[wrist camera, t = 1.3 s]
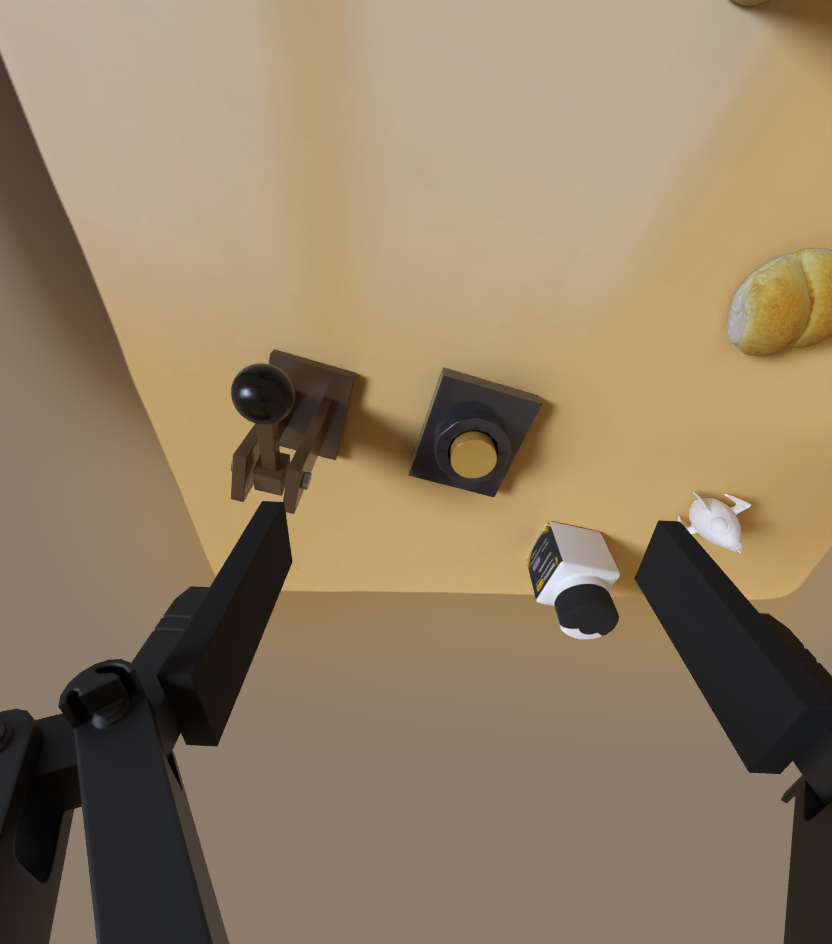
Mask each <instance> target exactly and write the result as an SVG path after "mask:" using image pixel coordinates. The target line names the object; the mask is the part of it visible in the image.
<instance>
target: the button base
mask: <svg viewBox="0 0 832 944" xmlns="http://www.w3.org/2000/svg"><path fill="white" fill-rule="evenodd" d="M541 405H542V404H541V402H540V399H539V397H538V396H537V395H534V394H531V393H527V392H524V391H521V390H517V389H514V388H510V387H507V386H504V385H500V384H497V383H493V382H490V381H487V380H483V379H480V378H477V377H473V376H470V375H466V374H463V373H460V372H456V371H453V370H449V369H446V368H442V371H441V374H440V377H439V380H438V383H437V386H436V389H435V392H434V395H433V398H432V400H431V403H430V406H429V409H428V412H427V415H426V418H425V421H424V424H423V427H422V430H421V433H420V435H419V438H418V441H417V444H416V447H415V450H414V453H413V456H412V459H411V462H410V465H409V476H413V477H416V478H420V479H424V480H428V481H432V482H436V483H440V484H444V485H448V486H452V487H456V488H460V489H464V490H467V491H471V492H475V493H479V494H483V495H487V496H491V497H494V496H495V495H496V493H497V491H498V489H499V487H500V485H501V483H502V481H503V479H504V477H505V475H506V473H507V471H508V469H509V467H510V465H511V463H512V461H513V459H514V457H515V456H516V454H517V452H518V450H519V448H520V446H521V444H522V442H523V440H524V438H525V436H526V434H527V432H528V430H529V428H530V426H531V424H532V422H533V420H534V418H535V417H536V415H537V413H538V411H539V409H540V407H541ZM470 431H477V432H481V433H484V434H486V435H487V436H489V437H490V438H491V439H492V441H493V443H494V446H495V450H496V455H497V461H496V464H495V466H494V468H493V469H492V471H491V472H489V473H488V474H487V475H485V476H482V477H479V478H466V477H463V476H461V475H459V474H458V473H456V471H455V470H454V469H453V467H452V465H451V456H450V448H451V445H452V443H453V441H454V440H455V439H456V438H457V437H458V436H459V435H461V434H463V433H466V432H470Z"/></svg>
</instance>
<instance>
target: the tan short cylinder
mask: <svg viewBox="0 0 832 944" xmlns="http://www.w3.org/2000/svg"><path fill="white" fill-rule="evenodd" d="M450 456H451V465H452V467H453V469H454V470H455V471H456V473H458V474H459V475H461V476H463V477H466V478H479V477H482V476H485V475H487V474H488V473H489V472H491V471H492V469H493V468H494V466H495V464H496V461H497V455H496V450H495V446H494V443H493V441H492V439H491V438H490V437H489V436H487V435H486V434H484V433H481V432H477V431H470V432H466V433H463V434H461V435H459V436H458V437H457V438H456V439H455V440H454V441H453V443H452V445H451V448H450Z"/></svg>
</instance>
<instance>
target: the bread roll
mask: <svg viewBox="0 0 832 944" xmlns="http://www.w3.org/2000/svg"><path fill="white" fill-rule="evenodd" d="M727 329H728V337H729V340H730V341H731V342H732V343H733V344H735V345H736V346H737V347H738V348H739V349H740V350H741V351H742V352H743V353H745V354H748V355H754V356H767V355H771V354H773V353H775V352H778V351H779V350H781V349H783V348H785V347H786V346H787V347H794V348H801V347H807V346H810V345H813V344H815V343H818V342H820V341H822V340H824V339H825V338H827V337H829V336H830V335H832V250H829V249H823V248H807V249H803V250H800V251H798V252H795V253H793V254H788V255H784V256H781V257H778V258H776V259H774V260H772V261H770V262H768V263H766V264H764V265H763V266H761V267H760V268H758V269H757V270H756V271H755V272H753V273H752V274H751V275H750V276H749V277H748V278H747V279H746V280H745V281H744V282H743V283H742V284H741V286H740V287H739V288H738V290H737V291H736V293H735V294H734V298H733V302H732V305H731V308H730V311H729V315H728V328H727Z"/></svg>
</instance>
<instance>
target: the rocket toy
mask: <svg viewBox="0 0 832 944" xmlns="http://www.w3.org/2000/svg"><path fill="white" fill-rule="evenodd" d="M692 492H693V491H692ZM693 494H694V495H695V497H696V498H697V500H695V501H694V502H693V503H692V506H691V507H690V509H689V518H690V521H691V524H692V525H691V527H689V528H686V529H687V530H688V531H689V532H690V533H691V535H692V534H694V533H697V534H699V535H700V536H702V537H703V538H704V539H706V540H707V541H709V542H710V543H712V544H714V545H717V546H719V547H722V548H726V549H729V550H730V551H732V552H736V551H738V552H739V553H740V554H741V552H740V551H739V550H740V549H741V548H742V544H741V539H742V532H741V526H740V523H739V520H738V518H737V514H738V513H740V512H742V511H744V510H746V509H748V508H750V507H751V504H749V503H748V502H746V501H743V500H741V499H739V498H736V497H733V496H731V495H728V494H724V495H725V496H727V497H728V498H730V499H731V500H733V501H734V502H735V503H736V506H734V507H728V506H727V505H726V504H724V503H723V502H721V501H719V500H717V499H714V498H701V497H699V496H698V495H697V494H696V493H695V492H693ZM678 522H681V519H680V517H679V516H678ZM681 523H682V522H681Z"/></svg>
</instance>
